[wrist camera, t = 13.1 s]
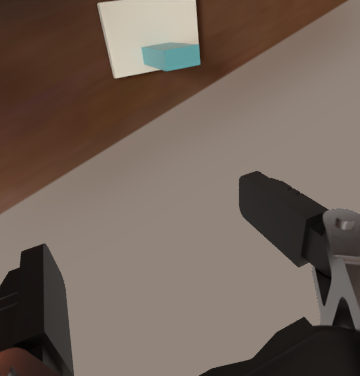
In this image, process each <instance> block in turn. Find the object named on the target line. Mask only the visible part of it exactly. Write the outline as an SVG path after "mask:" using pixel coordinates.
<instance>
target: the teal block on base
mask: <svg viewBox="0 0 360 376" xmlns="http://www.w3.org/2000/svg"><path fill="white" fill-rule="evenodd" d="M97 7H98V11H99V16H100V20H101V24H102V29H103V33H104V37H105V42H106V46H107V51H108V55H109V59H110V64H111V68H112V72H113V77H114V78H121V77H126V76H131V75H136V74H141V73H146V72H151V71H157V70H164V71H171V70H176V69H181V68H186V67H191V66H196V65H200V52H199V41H198V27H197V13H196V0H119V1H111V2H102V3H97Z"/></svg>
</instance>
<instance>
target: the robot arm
mask: <svg viewBox="0 0 360 376" xmlns="http://www.w3.org/2000/svg"><path fill="white" fill-rule="evenodd" d="M239 207H240V211H241V214H242V215H243V217H244V218H245V219H246V220H247V221H248V222H249V223H250V224H251V225H252V226H253V227H255V228H256V229H257V230H258V231H259V232H260V233H261V234H263V236H264V237H266V238H267V239H268V240H269V241H270V242H271V243H272V244H273V245H274V246H275V247H277V248H278V249H279V250H280V251H281V252H282V253H283V254H284V255H285V256H286V257H288V258H289V259H290V260H291V261H292V262H293V263H294V264H295V265H296V266H297V267H301V266H303V265H305V264H307V263H311V264H312V265H313V267H312V274H313V279H314V285H315V290H316V295H317V300H318V305H319V310H320V325H317V326H312V325H311V324H310V323H309V322H308V320H307V319H306V318H305V317H303V318H301V319H299V320H298V321H296V322H294V323H293V324H290V325H289V326H287V327H285V328H283V329H282V330H280V331H278V332H277V333H276V334H275V335H274V336H273V337H272V338H271V339H270V340H269V341H268V342H267V343H266V344H265V345H264V347H263V348H262V349H261V350H260V351H259V352H258V353H257V354H256V355H255V356H254V357H253V358H252V359H250V360H246V361H242V362H238V363H233V364H229V365H224V366H220V367H216V368H212V369H210V370H208V371H207V372H205V373H203V374H201V375H199V376H360V214H359V213H356V212H354V211H351V210H348V209H340V208H338V209H331V210H328V209H327V208H325V207H323V206H322V205H320V204H318V203H317V202H315V201H313V200H312V199H310V198H309V197H307V196H305V195H304V194H302V193H301V194H300V192H299V191H297V190H296V189H293V188H292V187H291V186H289V185H288V184H286V183H284V182H283V181H279V180H276V179H273V178H268V177H267V176H265V175H264V174H262V173H261V172H258V171H255V172H252V173H249V174H246V175H243V176H241V177H240V179H239ZM0 376H74V371H73V360H72V351H71V340H70V330H69V320H68V310H67V299H66V289H65V284H64V280H63V277H62V275H61V272H60V270H59V268H58V266H57V264H56V262H55V260H54V258H53V256H52V255H51V253H50V250H49V248H48V247H47V245H46V244H41V245H39V246H36V247H33V248H30V249H27V250H24V251H22V252H21V260H20V268H17V269H15V270H11V271H9V272H8V274H7V276H6V277H5V279H4V280H3V282H2V284H1V285H0Z"/></svg>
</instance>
